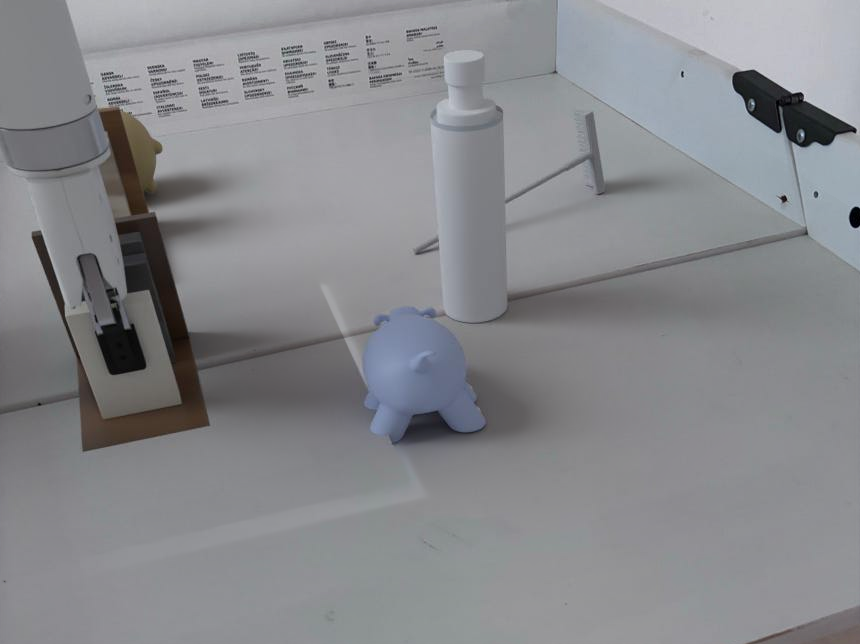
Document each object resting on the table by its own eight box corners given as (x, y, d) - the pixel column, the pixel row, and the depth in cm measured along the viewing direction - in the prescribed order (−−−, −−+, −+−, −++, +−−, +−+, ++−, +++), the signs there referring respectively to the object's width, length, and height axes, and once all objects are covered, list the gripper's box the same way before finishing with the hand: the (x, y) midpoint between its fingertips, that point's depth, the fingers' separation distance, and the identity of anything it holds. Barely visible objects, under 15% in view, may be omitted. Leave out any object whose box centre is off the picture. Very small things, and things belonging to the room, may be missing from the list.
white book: (102, 407, 89) (64, 304, 81) (179, 392, 90) (148, 289, 83) (103, 420, 87) (64, 316, 80) (182, 404, 88) (150, 300, 81)
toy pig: (115, 215, 131) (39, 177, 123) (149, 129, 128) (74, 83, 120) (148, 235, 126) (70, 195, 117) (184, 144, 123) (107, 98, 114)
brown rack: (80, 363, 97) (31, 231, 87) (191, 342, 99) (155, 211, 89) (86, 462, 85) (30, 322, 75) (212, 436, 87) (173, 296, 77)
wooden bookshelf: (60, 237, 118) (19, 120, 109) (151, 222, 120) (119, 106, 111) (63, 301, 106) (16, 176, 97) (164, 284, 108) (129, 159, 99)
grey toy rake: (411, 283, 117) (387, 206, 110) (587, 184, 123) (574, 106, 117) (427, 291, 114) (404, 213, 107) (606, 190, 121) (593, 110, 114)
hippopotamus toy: (461, 358, 94) (455, 263, 88) (494, 444, 84) (491, 344, 77) (351, 374, 93) (336, 279, 86) (371, 463, 83) (357, 363, 76)
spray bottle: (464, 329, 98) (449, 51, 80) (432, 304, 102) (410, 33, 84) (519, 310, 101) (516, 35, 83) (485, 286, 105) (475, 19, 87)
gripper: (3, 113, 77) (81, 328, 90) (-3, 186, 66) (87, 418, 79) (100, 100, 78) (162, 313, 91) (110, 169, 67) (179, 400, 81)
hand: (127, 360), depth 85 cm, fingers closed on white book, 2 cm apart
